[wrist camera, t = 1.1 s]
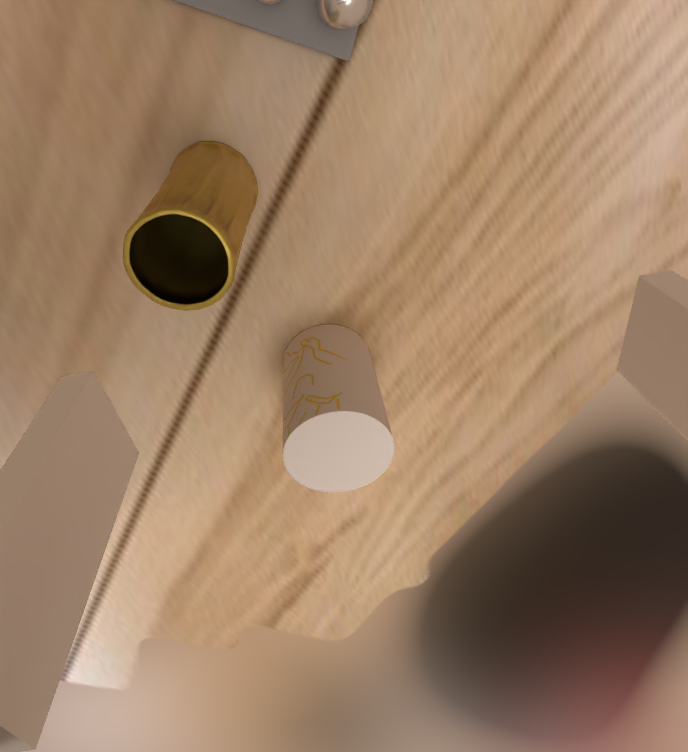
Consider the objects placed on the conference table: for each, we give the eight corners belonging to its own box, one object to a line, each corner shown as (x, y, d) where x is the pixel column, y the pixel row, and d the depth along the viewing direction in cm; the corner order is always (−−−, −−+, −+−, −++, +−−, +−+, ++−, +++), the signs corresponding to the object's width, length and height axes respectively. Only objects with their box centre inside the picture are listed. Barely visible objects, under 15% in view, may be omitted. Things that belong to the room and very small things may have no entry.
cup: (322, 307, 41) (334, 391, 31) (388, 356, 45) (417, 446, 35) (265, 368, 44) (259, 462, 34) (331, 410, 48) (342, 505, 38)
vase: (152, 183, 34) (84, 259, 23) (210, 120, 32) (168, 167, 21) (218, 245, 37) (188, 340, 26) (275, 190, 35) (270, 266, 24)
